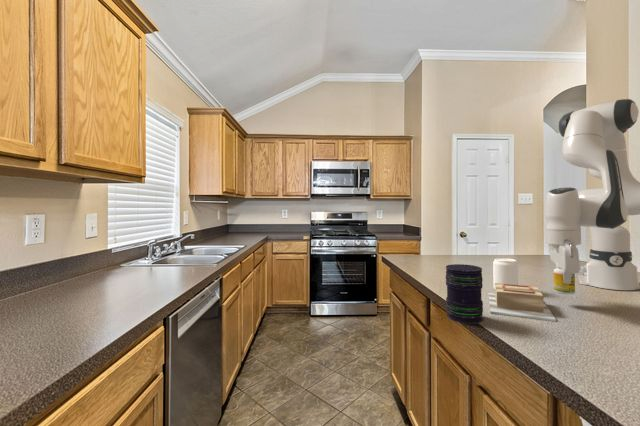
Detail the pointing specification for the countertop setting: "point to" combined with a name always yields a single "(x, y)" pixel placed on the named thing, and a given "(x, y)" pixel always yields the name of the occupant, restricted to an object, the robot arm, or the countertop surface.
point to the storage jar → (464, 293)
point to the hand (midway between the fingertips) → (564, 280)
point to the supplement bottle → (560, 285)
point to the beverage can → (505, 271)
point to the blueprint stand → (519, 302)
